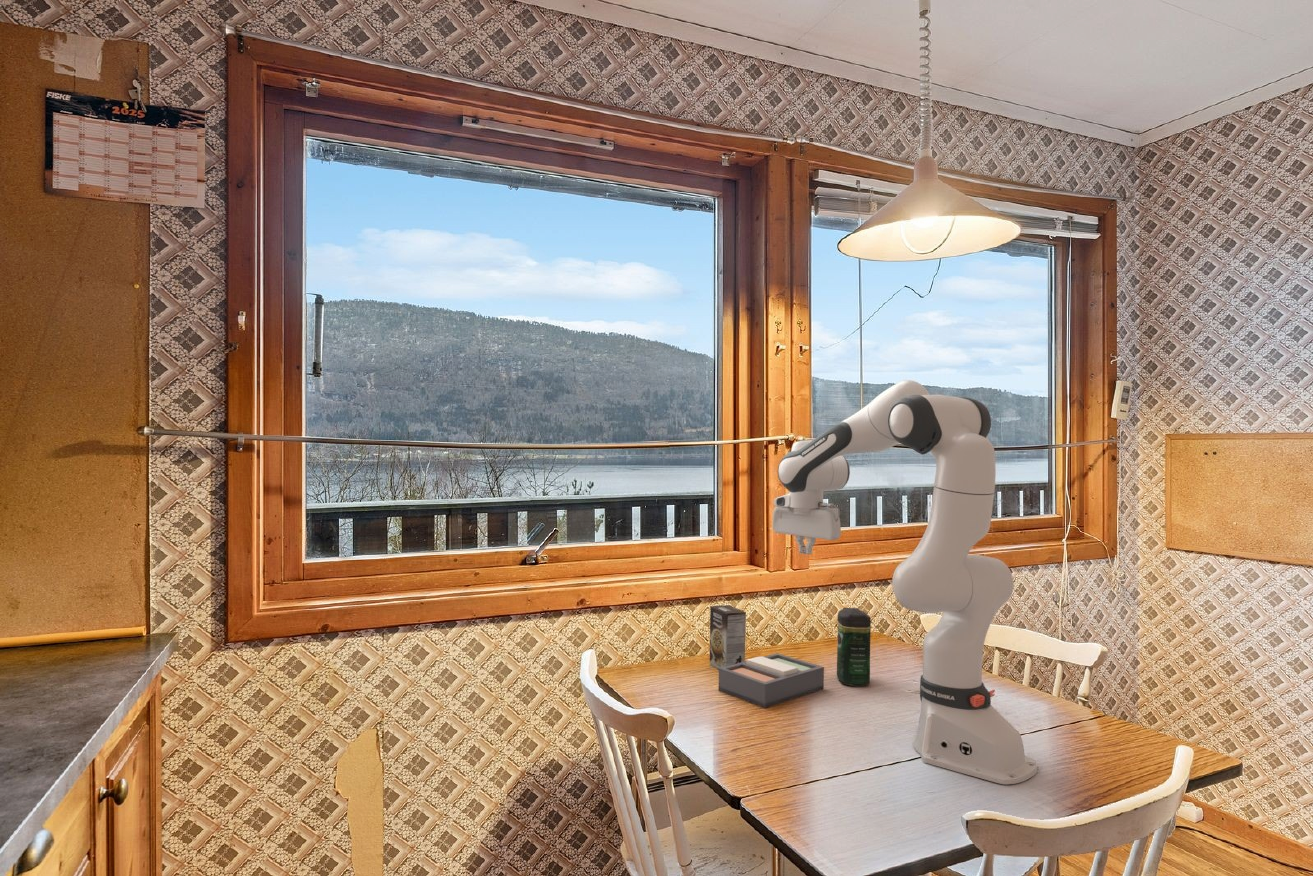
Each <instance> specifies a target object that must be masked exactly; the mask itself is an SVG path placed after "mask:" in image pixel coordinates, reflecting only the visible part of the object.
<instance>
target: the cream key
mask: <svg viewBox="0 0 1313 876" xmlns="http://www.w3.org/2000/svg"><path fill="white" fill-rule="evenodd" d="M746 661H747V663H746V664H748V665H751V666H754V667H757V668H760V669H763V670H766V671H769V672H772V673H775V674H778V675H781V676H787V675H791V674H794V673H797V672H798V668H797V667H794V666H791V665H788V664H784V663H781V662H778V661H775V660H771V659H768V658H765V657H764V656H762V655H760V656H755V657H752V658H748V659H746Z"/></svg>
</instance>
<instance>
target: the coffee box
mask: <svg viewBox="0 0 1313 876" xmlns="http://www.w3.org/2000/svg"><path fill="white" fill-rule="evenodd" d="M709 613H710V614H709V665H711V666H712V667H714V668H715V669H717V670H719V668H722V667H726V666H729V665H733V664H737V663H741V662H745V661H746V660H745V659H746V628H747V627H746V626H747V623H746V621H747V612H746V611H745V610H742V609H739V608H737V607H734V606H732V605H729V604H728V605H722V604H721V605H712V606H710V612H709Z"/></svg>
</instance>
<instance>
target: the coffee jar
mask: <svg viewBox="0 0 1313 876" xmlns="http://www.w3.org/2000/svg"><path fill="white" fill-rule="evenodd" d="M871 622H872V621H871V616H870V615H869V614H867V613H866V612H864V611H863V610H861V609H859V608H857V607H856V608H855V607H843V608H842V609H840V610H839V611H838V613H837V643H836V644H837V646H836V647H837V648H836V649H837V650H836V651H837V652H836V676H837V679H838V681H840V682H841V684H844V685H848V686H852V687H862V686H868V685H869V684H870V682H871V634H872V633H871V629H872V623H871Z"/></svg>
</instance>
